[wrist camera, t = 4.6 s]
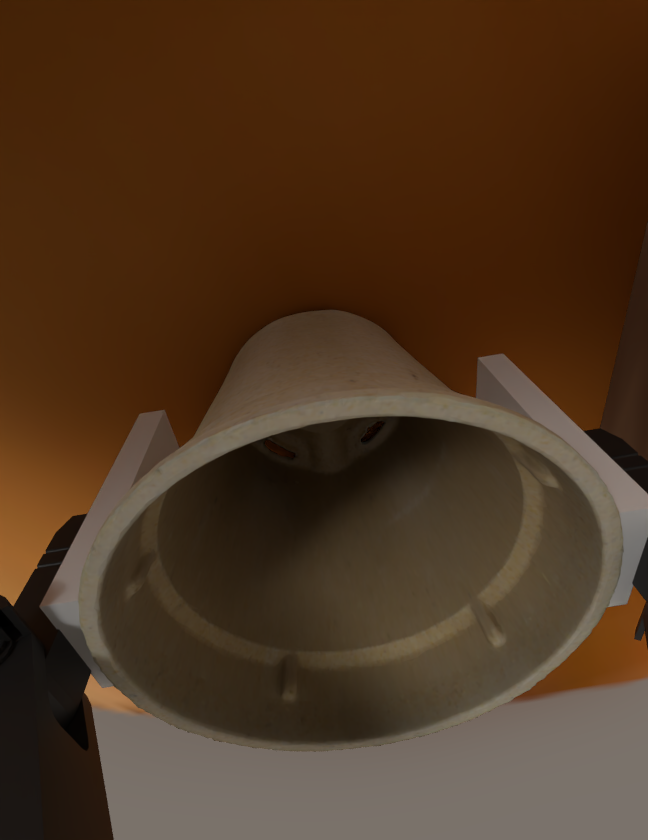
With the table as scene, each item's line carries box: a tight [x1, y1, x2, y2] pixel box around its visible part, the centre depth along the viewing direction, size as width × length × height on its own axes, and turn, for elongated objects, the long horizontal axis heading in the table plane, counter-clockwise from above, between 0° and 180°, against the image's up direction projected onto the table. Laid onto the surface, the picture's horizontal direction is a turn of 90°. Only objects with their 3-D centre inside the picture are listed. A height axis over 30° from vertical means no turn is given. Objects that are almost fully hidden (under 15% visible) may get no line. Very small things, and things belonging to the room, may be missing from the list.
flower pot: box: [78, 310, 624, 751], centre depth 12 cm, size 9×9×9 cm
